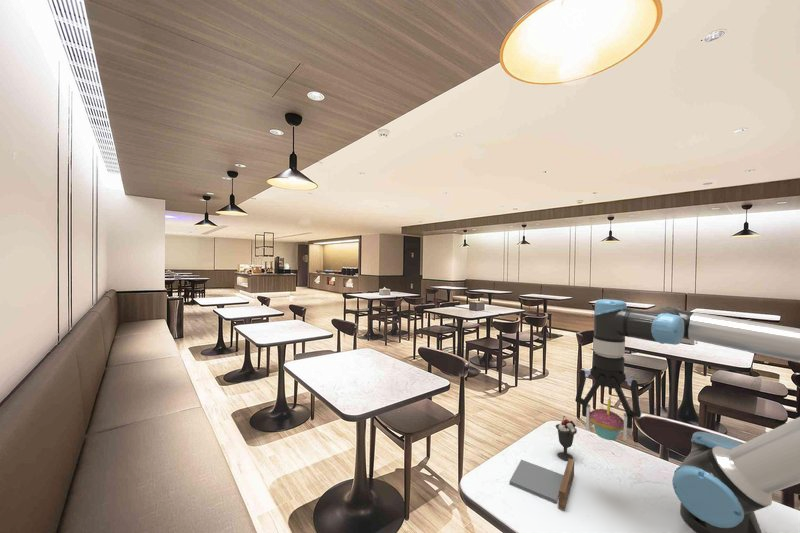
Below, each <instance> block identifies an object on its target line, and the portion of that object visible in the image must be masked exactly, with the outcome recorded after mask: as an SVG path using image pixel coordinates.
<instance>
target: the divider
mask: <svg viewBox="0 0 800 533" xmlns="http://www.w3.org/2000/svg"><path fill="white" fill-rule="evenodd" d="M566 462H567V463H566V465H565V469H564V473H563V474H562V475H563V479H562V482H561V485H560V488H559V497H558V500H557V503H558V504H557V505H558V506H557V509H559V510H561V511H563V512H565V511H566V508H567V503H568V500H569V496H570V492H571V488H572V485H573V484H572V483H573V480H574V476H575V459H574V458H573V459H570V458H569V459H568V461H566Z"/></svg>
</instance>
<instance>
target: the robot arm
mask: <svg viewBox="0 0 800 533" xmlns="http://www.w3.org/2000/svg"><path fill="white" fill-rule="evenodd" d="M593 311H594V313H593V340H592V345H593V346H592V347H593V348H592V351H593V353H592V368H590V369H585V368H583V367H582V368H581V369H580V371H579V374H580V380H579V384H578V388H577V389H578V390H577V392H576V396H575V399H574V400H575V402H576V403H579V404H580V405H581V406H582V407H581V415H582V417H583V418H584V417H585V430H586V431H589V430H590V427H591V424H590V423H591V422H590V419H589V417H590V412H591V404H589V403H590V401H591V400H592V398H593V396H594V395H595V393H596V392H597V390H598V389H599V388H600V387H603V388H609V389H612V390H614V391H615V393H616V394H617V397H618V399H619V401H620V403H621V405H622V407H623V409H624V412H623V421H624V428H623V431H622V433H623V434H622V435H623V436H622V440H623V441H627V437H628V433H627V432H628V429H633V418H634V417H637V418H641V416H642V414H641V413H642V412H641V407H640V402H639V397H638V391H637V386H638V378H636V377H629V376H626V374H625V373H626V372H625V357H624V356H625V351H626V350H625V349H626V348H625V347H626V338H633V339H638V340H643V341H649V342H653V343H659V344H662V345H663V344H667V345H674V346H676V345H680V344H681V343H682V342H683V339H685V340H689V341H690V340H691V341H696V342H700V343H704V344H705V343H706V344H708V345H714V346H717V347H719V346H720V347H724V348H728V349H733V350H737V351H743V352H748V353H750V354H751V353H752V354H757V355H762V356H766V357H771V358H775V359H781V360H784V361H785V360H786V361H789V362H790V361H791V362H793V363H800V328H798V327H797V328H796V327H791V326H787V325H786V326H785V325H779V324H772V323H766V322H758V321H752V320H746V319H739V318H734V317H727V316H720V315H714V314H707V313H701V312H693V311H688V310H683V309H680V308H677V307H672V306H671V307H670V306H665V307H661V308H659V309H655V310H651V311H650V310H649V311H648V310H639V309H637V310H636V309H630V308H628V306H627V302H625V301H623V300H619V299H609V298H607V299H606V298H603V299H601V298H600V299H598V300H596V301H595V303H594V310H593ZM589 375H591V377H592V378H593V379H594V383H593V385H592V386H591V388H590V389H589V391H588V392H587V394H586V395H585V397H584V398H582V396H583V393H584V392H583V391H584V387H585V385H586V380H587V378H589ZM624 382H627V386H629V387H630V392H631V393H630V394H631V399H632V403H633V404H632V405H633V409H632V407H631V406H630V403H629V402H628V399H627V397H626V395H625V393H624V391H623V389H622V386H621V384H623V383H624ZM690 440H691V441H690V442H691V451H690V453H688V455H687V456H686V457H685V458H684V459H683V461H682V463H680V465H679V466H678V467H676V469H675V470H674V473H673V476H672V488H673V491H674V493H675V495H676V497H677V499H678V500H679V502H680V507H679V509H680V511H679V512H680V516H681V518H682V519H683V521H684V522H685V523H686V525H688V526H689V527H690V528H691V529H692V530H694V532H696V533H697V532H698V533H763V532H762V529H761V527H760V524H759V522H758V519H757V516H756V514H755V512H756V511H758V510H761V509H764V508H768V507H769V506H772V505H773V498H772V496H773V495H772V494H773V493H774V494H775V493H777V492H779V491H781V490H784V489H788V488H790V487H793V486H795V485H796V486H797V485H799V484H800V416H799V417H798V416H797V417H796V418H794V419H791V420H790V421H788V422H785V423H783V424H781V425H779V426H777V427H775V428H774V429H771V430H769V431H767V432H765V433H762V434H760V435H759V436H756V437H754V438H751V439H750V440H748V441H745V442H743V443H742V442H740V441H737V440H735V439H732V438H730V437H727V436H724V435H720V434H717V433H716V434H715V433H712V432H706V431H696V432H695V431H694V433H692V437H691V439H690Z"/></svg>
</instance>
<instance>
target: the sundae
mask: <svg viewBox="0 0 800 533" xmlns="http://www.w3.org/2000/svg"><path fill="white" fill-rule="evenodd" d="M555 429H557V434H558V435H557V436H558V441H559V444H560V445H561V446H562V447H563V451H559V452H558V453H556V455H557V457H558V459H560V460H563V461H565V462H568V459H569V458H570V459H573V460H574V457H573V456H572V455H571V454H570V453H568V449H569V448H571V447H572V446H573V442H574V438H575V437H574V436H575V435H576V434H577V432H578V429H577V428H576V424H575V422H574V421H573V420H571V419H570V420H569V419H567V418H566V416H565V415H563V416H562V421H561V422H560V423H558V424H555Z"/></svg>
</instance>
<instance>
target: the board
mask: <svg viewBox="0 0 800 533" xmlns="http://www.w3.org/2000/svg"><path fill="white" fill-rule="evenodd" d="M563 475H564V474H562V473H559V472H557V471H554V470H552V469H548V468H546V467H543V466H540V465H537V464H535V463H532V462H529V461H527V460H524V459H521V460H520V461H519V463H518V465H517V467H515V471H514V472H513V474H512V476H511V478H510V479H509V485H511V486H513V487H516V488H518V489H520V490H522V491H524V492H527V493H530V494H532V495H534V496H537V497H538V498H541V499H543V500H546V501H548V502H552V503H554V504H557V503H558V501H559V488H560V485H561V482H562V479H563ZM557 505H558V504H557Z"/></svg>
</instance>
